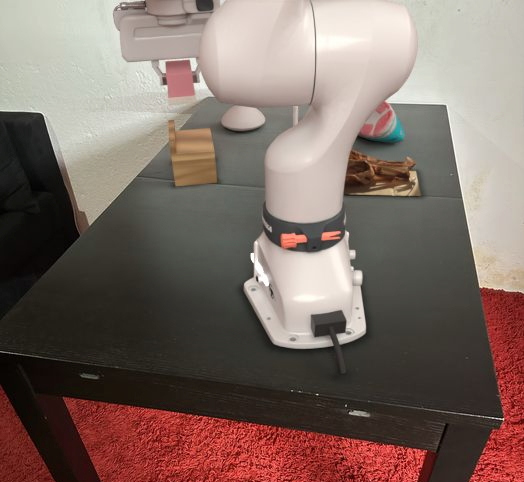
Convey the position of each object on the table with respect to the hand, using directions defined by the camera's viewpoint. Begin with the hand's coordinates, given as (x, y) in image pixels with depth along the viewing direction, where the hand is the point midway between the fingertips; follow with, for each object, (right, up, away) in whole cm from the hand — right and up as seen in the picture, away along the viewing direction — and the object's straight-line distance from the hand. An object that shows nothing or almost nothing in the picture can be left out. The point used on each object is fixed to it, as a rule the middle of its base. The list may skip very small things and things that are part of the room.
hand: (180, 83), depth 102 cm
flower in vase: (+11, +7, +35) cm, 38 cm away
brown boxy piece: (+1, -12, +15) cm, 20 cm away
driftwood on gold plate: (+35, -16, +10) cm, 40 cm away
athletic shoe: (+40, +2, +30) cm, 50 cm away
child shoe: (0, -1, +2) cm, 2 cm away
